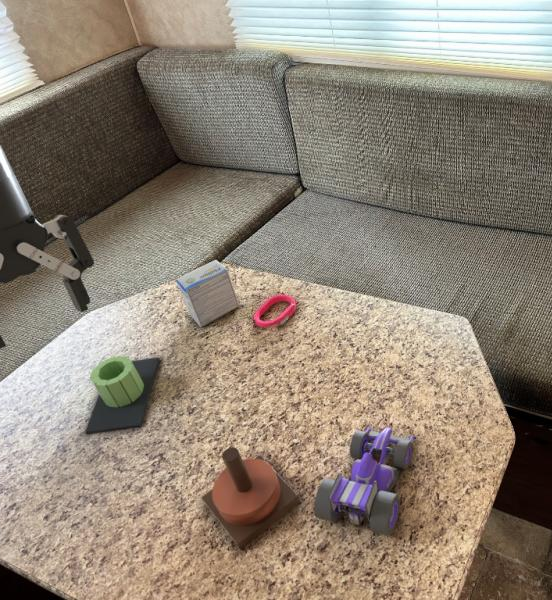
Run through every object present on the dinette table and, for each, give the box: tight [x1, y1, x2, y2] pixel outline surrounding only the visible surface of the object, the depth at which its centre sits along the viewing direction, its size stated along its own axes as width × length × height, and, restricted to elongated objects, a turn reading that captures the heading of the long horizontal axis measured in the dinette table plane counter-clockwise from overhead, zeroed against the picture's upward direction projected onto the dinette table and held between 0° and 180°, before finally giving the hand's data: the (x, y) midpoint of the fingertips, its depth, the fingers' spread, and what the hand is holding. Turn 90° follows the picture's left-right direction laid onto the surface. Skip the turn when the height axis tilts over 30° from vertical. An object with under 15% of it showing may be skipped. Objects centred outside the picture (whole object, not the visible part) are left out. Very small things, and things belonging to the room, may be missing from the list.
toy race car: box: [313, 426, 415, 537], centre depth 77 cm, size 10×15×6 cm, turn 162°
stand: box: [200, 447, 301, 551], centre depth 75 cm, size 9×9×10 cm
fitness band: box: [253, 294, 297, 328], centre depth 106 cm, size 8×6×2 cm
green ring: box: [89, 355, 144, 407], centre depth 93 cm, size 6×6×5 cm
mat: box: [85, 357, 161, 435], centre depth 95 cm, size 14×8×1 cm, turn 5°
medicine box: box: [175, 259, 241, 328], centre depth 106 cm, size 8×4×9 cm, turn 130°
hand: (43, 327), depth 65 cm, fingers open, 8 cm apart
